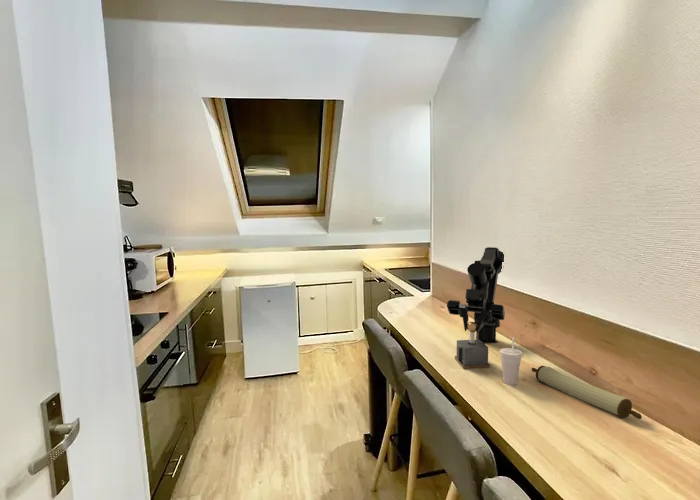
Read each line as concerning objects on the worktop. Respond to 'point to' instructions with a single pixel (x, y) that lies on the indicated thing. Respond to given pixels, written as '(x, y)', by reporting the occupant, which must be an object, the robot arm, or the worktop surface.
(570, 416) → the worktop surface
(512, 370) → the smoothie
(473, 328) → the copper ball knob
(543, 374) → the rolling pin
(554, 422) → the worktop surface
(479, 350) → the copper ball lever box
